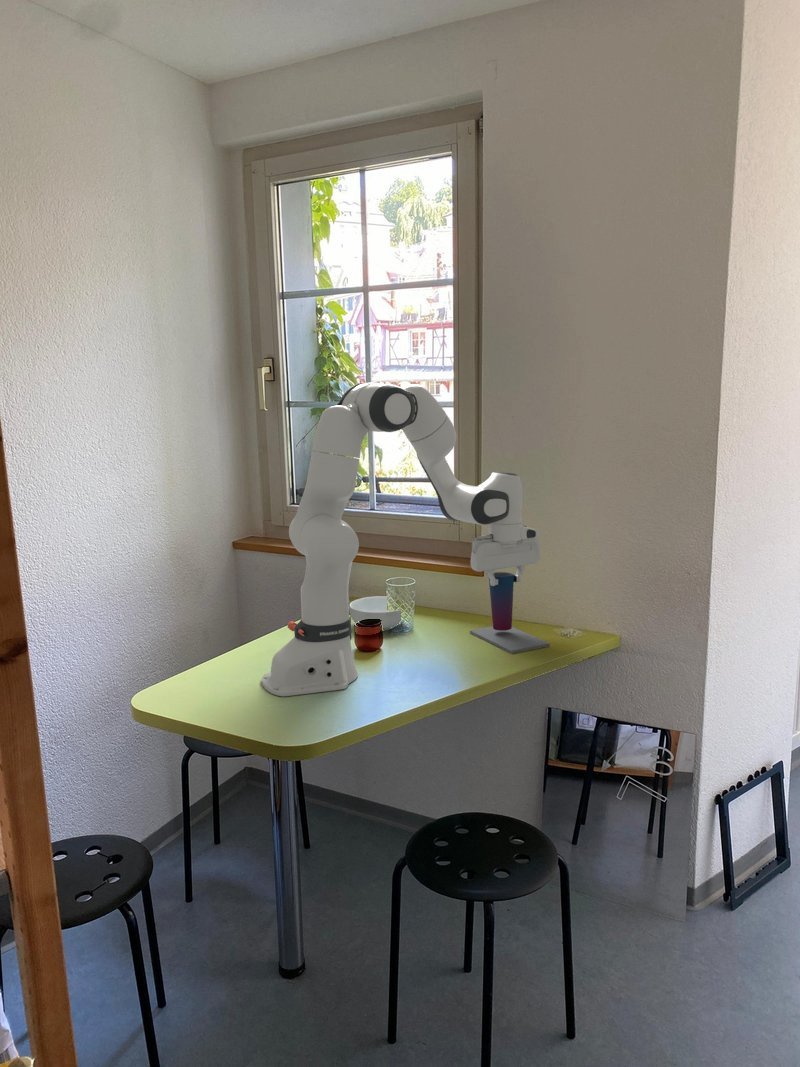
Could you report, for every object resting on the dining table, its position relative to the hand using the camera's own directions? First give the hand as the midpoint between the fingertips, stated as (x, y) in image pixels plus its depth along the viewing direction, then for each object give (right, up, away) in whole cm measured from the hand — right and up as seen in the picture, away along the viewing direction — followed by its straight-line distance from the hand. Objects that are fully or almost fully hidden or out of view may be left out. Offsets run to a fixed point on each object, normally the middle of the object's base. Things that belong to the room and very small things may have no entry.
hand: (505, 583), depth 213 cm
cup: (0, -13, +4) cm, 13 cm away
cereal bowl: (-34, -14, +15) cm, 40 cm away
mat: (+1, -15, +1) cm, 15 cm away
